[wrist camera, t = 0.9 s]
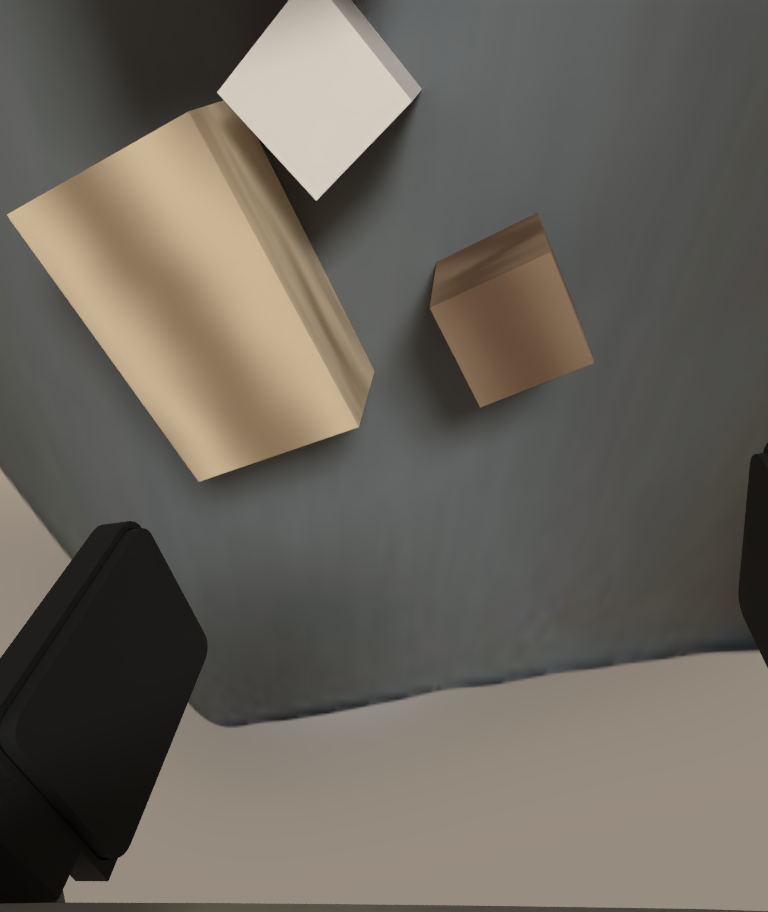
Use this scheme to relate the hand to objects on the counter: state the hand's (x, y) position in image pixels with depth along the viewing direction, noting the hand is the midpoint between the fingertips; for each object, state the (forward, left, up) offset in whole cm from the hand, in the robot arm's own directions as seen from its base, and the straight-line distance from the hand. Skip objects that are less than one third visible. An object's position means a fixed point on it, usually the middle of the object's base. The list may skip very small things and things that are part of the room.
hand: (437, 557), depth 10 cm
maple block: (+11, -2, -23) cm, 26 cm away
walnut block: (-1, +4, -23) cm, 24 cm away
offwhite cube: (+2, -7, -23) cm, 24 cm away
